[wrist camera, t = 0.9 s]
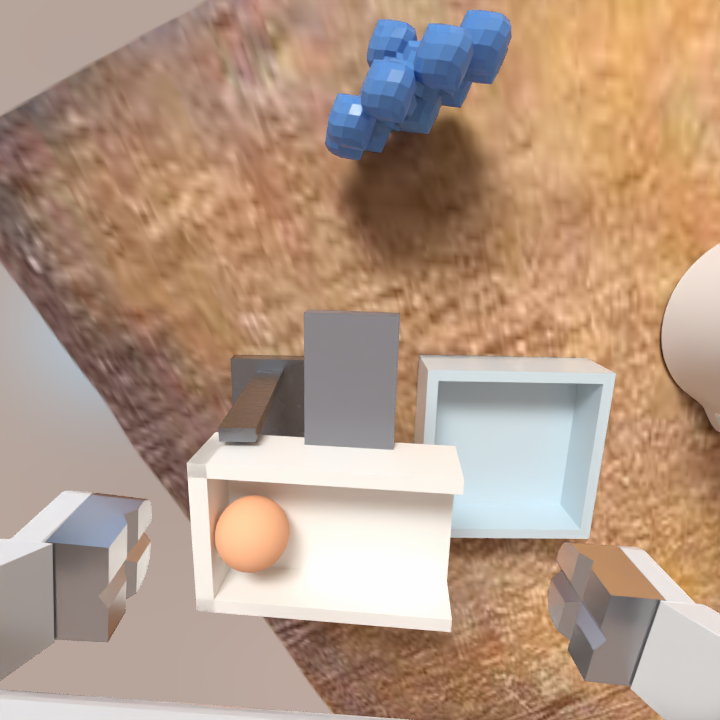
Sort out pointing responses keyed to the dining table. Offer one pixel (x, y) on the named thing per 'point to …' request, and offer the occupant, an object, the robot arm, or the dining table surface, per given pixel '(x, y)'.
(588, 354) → the dining table surface
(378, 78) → the grapes
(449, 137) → the dining table surface
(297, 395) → the trough stand
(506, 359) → the pale blue tray
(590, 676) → the robot arm
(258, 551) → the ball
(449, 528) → the tipping trough
